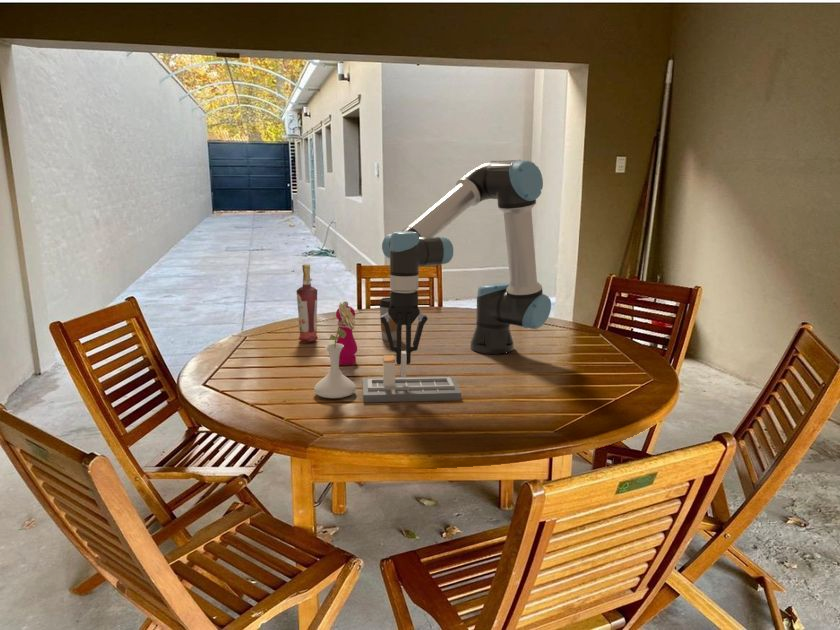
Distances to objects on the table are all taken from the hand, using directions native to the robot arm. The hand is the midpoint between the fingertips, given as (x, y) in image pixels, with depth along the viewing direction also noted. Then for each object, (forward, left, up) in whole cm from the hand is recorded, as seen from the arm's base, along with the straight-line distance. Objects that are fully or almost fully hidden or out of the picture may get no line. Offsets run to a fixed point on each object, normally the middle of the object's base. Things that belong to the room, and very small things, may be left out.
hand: (403, 375), depth 158 cm
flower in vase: (+18, 0, -5) cm, 19 cm away
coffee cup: (0, -57, -5) cm, 57 cm away
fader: (+4, 0, -3) cm, 5 cm away
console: (-2, 0, -5) cm, 5 cm away
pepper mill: (+16, -29, -5) cm, 34 cm away
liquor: (+30, -55, -5) cm, 63 cm away
